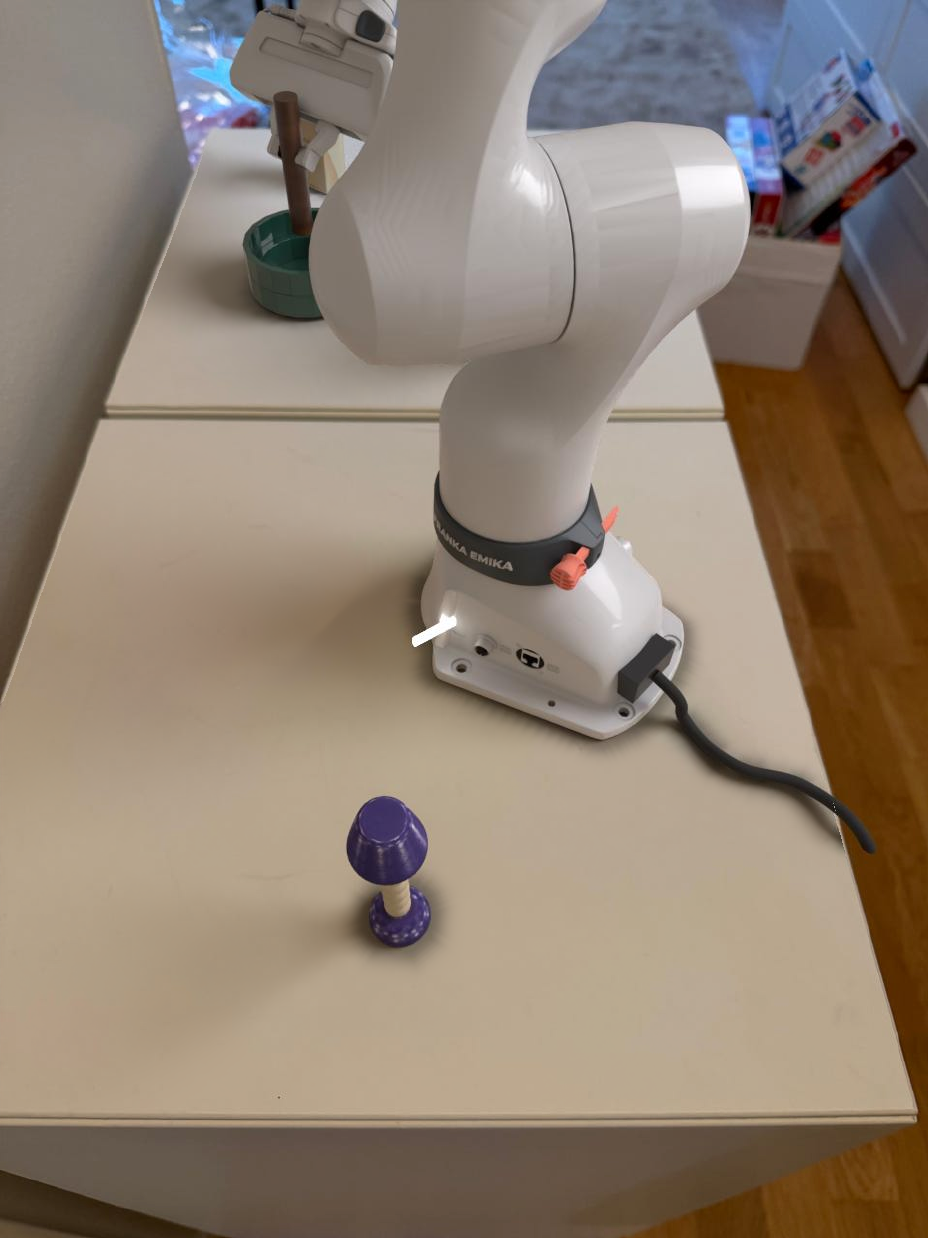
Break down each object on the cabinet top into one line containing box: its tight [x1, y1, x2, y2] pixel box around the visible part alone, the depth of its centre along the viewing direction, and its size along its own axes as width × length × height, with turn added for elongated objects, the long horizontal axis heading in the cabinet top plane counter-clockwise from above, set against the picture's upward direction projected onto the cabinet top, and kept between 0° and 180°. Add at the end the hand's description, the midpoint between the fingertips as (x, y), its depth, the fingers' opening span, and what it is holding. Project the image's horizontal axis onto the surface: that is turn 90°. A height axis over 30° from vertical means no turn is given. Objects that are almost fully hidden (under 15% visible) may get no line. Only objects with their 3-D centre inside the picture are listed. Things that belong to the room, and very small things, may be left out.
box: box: [300, 118, 347, 195], centre depth 117 cm, size 5×4×11 cm
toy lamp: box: [345, 795, 432, 948], centre depth 56 cm, size 5×5×17 cm
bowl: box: [241, 207, 323, 318], centre depth 105 cm, size 13×13×6 cm
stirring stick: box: [273, 91, 313, 236], centre depth 96 cm, size 2×2×14 cm
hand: (289, 162), depth 95 cm, fingers closed on stirring stick, 2 cm apart
